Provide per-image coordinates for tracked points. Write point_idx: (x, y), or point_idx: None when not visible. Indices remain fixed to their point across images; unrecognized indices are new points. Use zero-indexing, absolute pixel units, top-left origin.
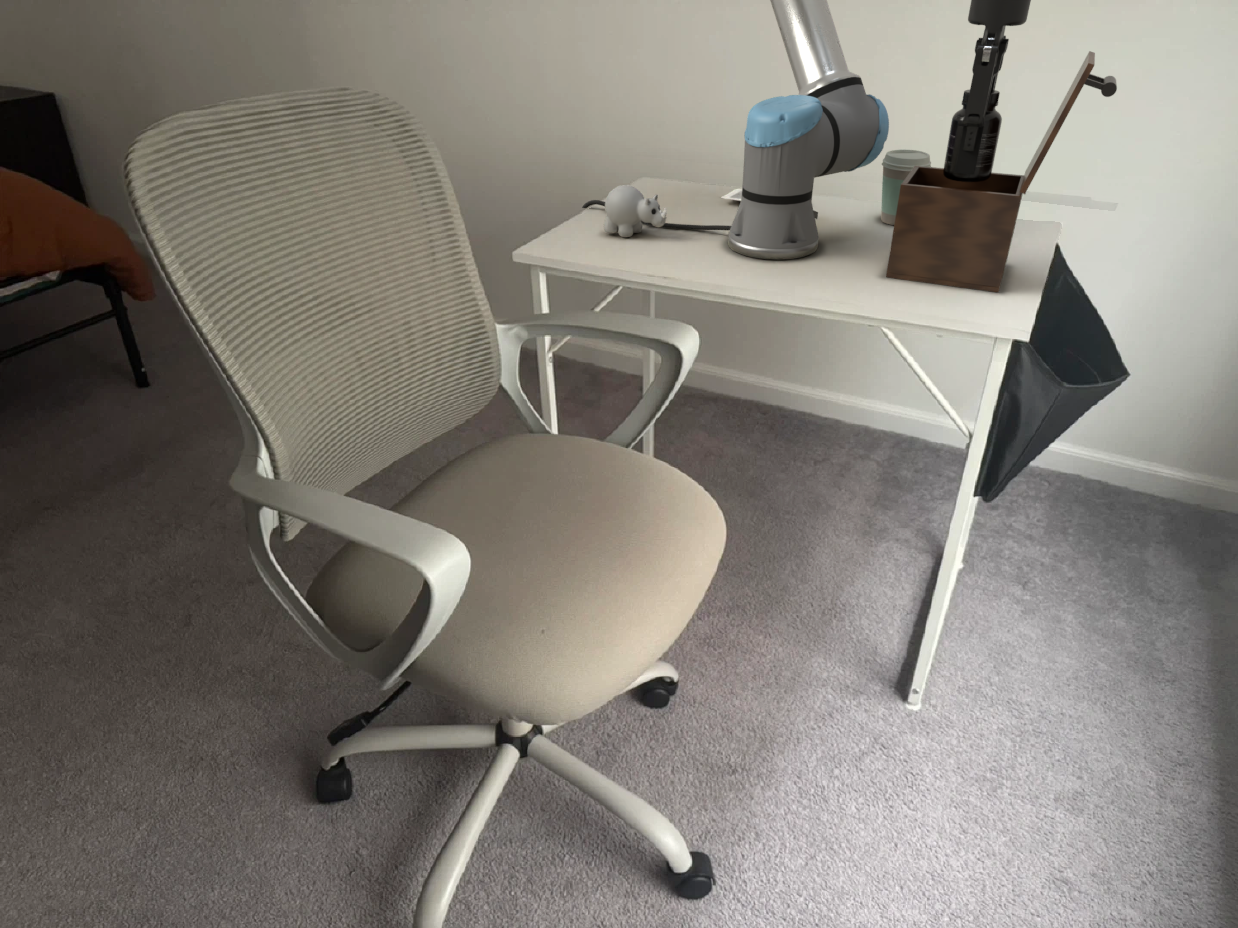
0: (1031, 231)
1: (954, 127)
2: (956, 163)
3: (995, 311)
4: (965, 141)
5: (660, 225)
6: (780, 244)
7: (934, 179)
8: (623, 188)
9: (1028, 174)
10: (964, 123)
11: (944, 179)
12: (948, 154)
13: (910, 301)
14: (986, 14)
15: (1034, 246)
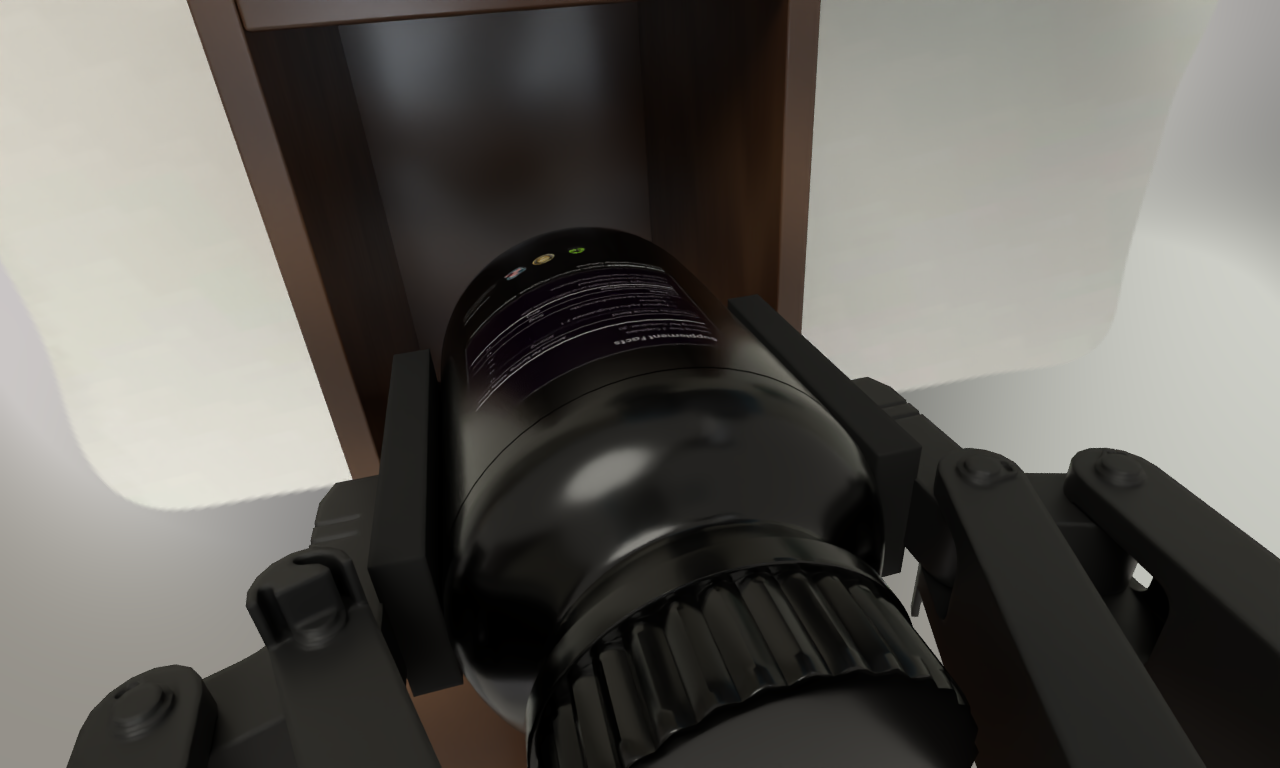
0: (1018, 326)
1: (502, 427)
2: (390, 386)
3: (243, 428)
4: (315, 537)
5: None
6: None
7: (757, 108)
8: None
9: (422, 706)
10: (155, 674)
11: (755, 169)
12: (498, 308)
13: (105, 171)
14: None
15: (883, 367)
